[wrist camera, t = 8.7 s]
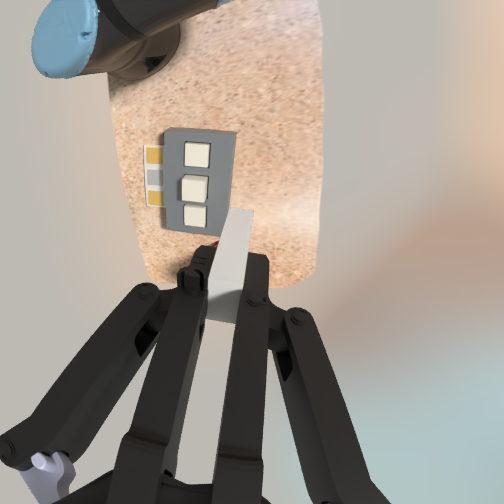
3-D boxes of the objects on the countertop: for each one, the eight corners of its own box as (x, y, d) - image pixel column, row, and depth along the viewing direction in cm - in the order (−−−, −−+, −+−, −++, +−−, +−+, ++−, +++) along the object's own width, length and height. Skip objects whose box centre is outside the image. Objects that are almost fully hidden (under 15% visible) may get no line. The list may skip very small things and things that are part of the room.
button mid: (185, 174, 46) (181, 179, 44) (207, 176, 46) (204, 181, 44) (185, 194, 48) (181, 200, 46) (206, 196, 48) (203, 202, 46)
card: (144, 144, 45) (143, 145, 44) (165, 145, 45) (164, 146, 44) (147, 204, 53) (146, 206, 52) (166, 207, 53) (166, 208, 52)
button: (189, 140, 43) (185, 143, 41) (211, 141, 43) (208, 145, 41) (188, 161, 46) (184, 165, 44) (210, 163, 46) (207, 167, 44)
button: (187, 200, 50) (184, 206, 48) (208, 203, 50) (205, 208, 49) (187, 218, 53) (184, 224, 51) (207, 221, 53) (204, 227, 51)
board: (170, 127, 43) (164, 130, 40) (236, 132, 43) (234, 135, 41) (171, 222, 55) (166, 229, 52) (227, 229, 55) (225, 237, 53)
